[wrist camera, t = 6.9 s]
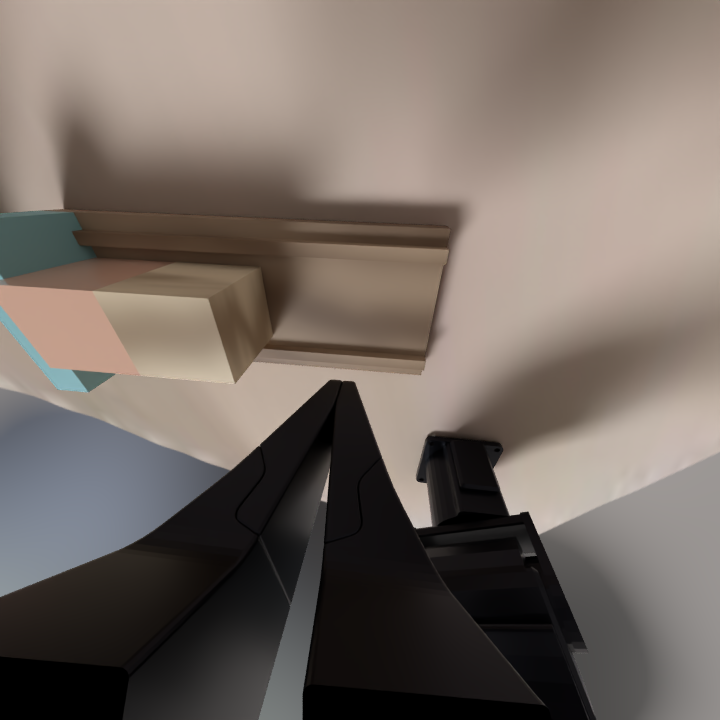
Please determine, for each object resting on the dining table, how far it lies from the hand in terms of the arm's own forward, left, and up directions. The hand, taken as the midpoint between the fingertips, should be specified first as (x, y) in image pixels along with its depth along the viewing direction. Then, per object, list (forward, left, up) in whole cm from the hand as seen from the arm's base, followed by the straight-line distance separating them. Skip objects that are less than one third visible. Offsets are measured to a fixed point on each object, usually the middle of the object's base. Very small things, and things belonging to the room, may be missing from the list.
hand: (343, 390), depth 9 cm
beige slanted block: (0, +8, -8) cm, 11 cm away
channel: (0, +7, -9) cm, 11 cm away
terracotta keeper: (0, +13, -8) cm, 15 cm away
